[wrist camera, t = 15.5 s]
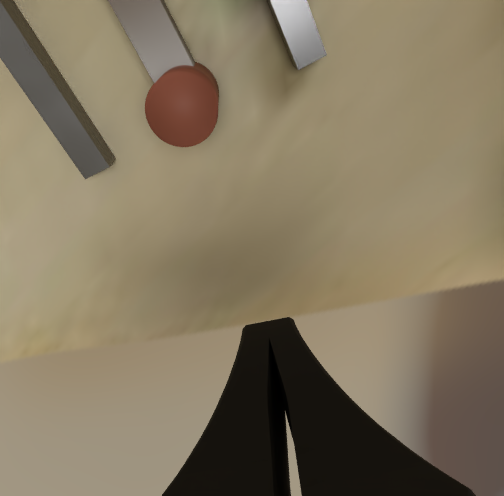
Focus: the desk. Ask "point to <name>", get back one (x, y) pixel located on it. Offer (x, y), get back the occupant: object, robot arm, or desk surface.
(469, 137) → the desk surface
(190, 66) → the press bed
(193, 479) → the robot arm
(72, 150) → the press frame
